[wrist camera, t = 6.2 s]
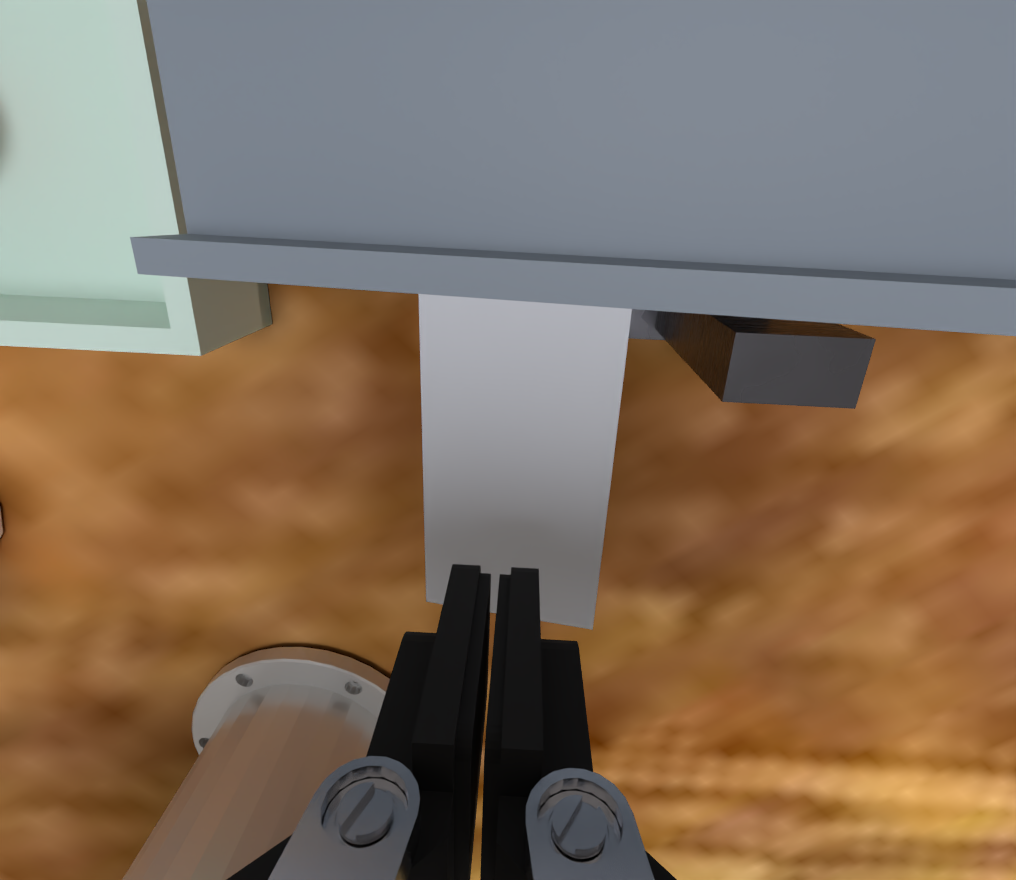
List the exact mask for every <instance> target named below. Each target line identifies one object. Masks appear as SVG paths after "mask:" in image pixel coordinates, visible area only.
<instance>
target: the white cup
mask: <svg viewBox="0 0 1016 880" xmlns="http://www.w3.org/2000/svg"><path fill="white" fill-rule="evenodd" d="M2 534H3V525H2V516H1V508H0V538H1V536H2Z"/></svg>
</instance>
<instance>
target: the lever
mask: <svg viewBox="0 0 1016 880" xmlns="http://www.w3.org/2000/svg"><path fill="white" fill-rule="evenodd" d="M146 1H147V7H148V12H149V18H150V24H151V29H152V35H153V41H154V46H155V52H156V58H157V63H158V69H159V75H160V80H161V86H162V92H163V97H164V103H165V109H166V114H167V120H168V126H169V132H170V137H171V143H172V149H173V154H174V160H175V166H176V171H177V177H178V183H179V188H180V194H181V200H182V205H183V211H184V217H185V222H186V228H187V234H177V235H159V236H142V237H130V240H131V245H132V249H133V254H134V259H135V263H136V268H137V273H138V274H144V275H158V276H172V277H186V278H201V279H215V280H229V281H243V282H257V283H271V284H285V285H300V286H314V287H328V288H342V289H356V290H370V291H385V292H399V293H413V294H419V328H420V368H421V408H422V449H423V489H424V529H425V570H426V602H432V603H438V604H443V603H444V598H445V594H446V590H447V585H448V581H449V576H450V572H451V568H452V565H453V564H463V565H480V566H481V573H489V574H491V594H490V612H491V613H496V611H497V599H498V588H499V577H500V574H507V575H511V567H518V568H537V569H539V593H540V621H545V622H551V623H556V624H562V625H568V626H574V627H580V628H586V629H592V630H593V623H594V614H595V606H596V598H597V590H598V582H599V574H600V566H601V557H602V549H603V541H604V533H605V525H606V517H607V508H608V500H609V492H610V484H611V476H612V468H613V460H614V451H615V443H616V435H617V427H618V419H619V411H620V402H621V394H622V386H623V378H624V370H625V362H626V354H627V345H628V337H629V329H630V321H631V313H632V309H639V310H653V311H668V312H682V313H696V314H710V315H724V316H738V317H753V318H767V319H781V320H795V321H809V322H823V323H837V324H852V325H866V326H880V327H894V328H908V329H922V330H937V331H951V332H965V333H979V334H993V335H1007V336H1016V0H146Z"/></svg>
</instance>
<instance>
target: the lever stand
mask: <svg viewBox="0 0 1016 880" xmlns="http://www.w3.org/2000/svg"><path fill="white" fill-rule="evenodd" d="M628 338H633V339H654V340H666V341H667V342H668V343H669V344H670V345H671V346H672V348H673V349H674V350H675V351H676V352H677V353H678V354H679V355H680V356H681V357H682V358H683V359H684V361H685V362H686V363H687V364H688V365H689V366H690V367H691V368H692V369H693V370H694V371H695V373H696V374H697V375H698V376H699V377H700V378H701V379H702V380H703V381H704V382H705V383H706V384H707V386H708V387H709V388H710V389H711V390H712V391H713V392H714V393H715V394H716V395H717V396H718V397H719V399H720V400H721V401H722V402H740V403H759V404H778V405H797V406H816V407H835V408H854V409H855V407H856V404H857V400H858V397H859V394H860V390H861V387H862V384H863V380H864V377H865V374H866V370H867V367H868V364H869V360H870V357H871V353H872V350H873V347H874V343H875V340H876V339H874V338H872V337H869V336H867V335H864V334H862V333H859V332H857V331H854V330H852V329H849V328H847V327H844V326H842V325H839V324H837V323H823V322H809V321H795V320H781V319H767V318H753V317H738V316H724V315H710V314H696V313H682V312H668V311H653V310H639V309H632V313H631V321H630V329H629V337H628Z"/></svg>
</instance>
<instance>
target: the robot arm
mask: <svg viewBox="0 0 1016 880" xmlns="http://www.w3.org/2000/svg"><path fill="white" fill-rule="evenodd" d="M490 594H491V574H489V573H481V566H480V565H463V564H453V565H452V568H451V572H450V576H449V581H448V585H447V590H446V594H445V598H444V603H443V607H442V611H441V616H440V620H439V624H438V629H437V633H422V632H406V633H405V634H404V636H403V639H402V642H401V645H400V648H399V651H398V655H397V658H396V661H395V664H394V668H393V671H392V674H391V677H390V679H389V678H387V677H386V676H384V675H383V674H381V673H380V672H378V671H377V670H375V669H373V668H372V667H370V666H368V665H366V664H364V663H362V662H359V661H357V660H355V659H353V658H350V657H348V656H344V655H341V654H337V653H334V652H331V651H327V650H321V649H314V648H307V647H277V648H271V649H265V650H259V651H256V652H253V653H250V654H247V655H245V656H242V657H239V658H237V659H236V660H234V661H232V662H231V663H229V664H228V665H226V666H224V667H223V668H222V669H221V670H220V671H219V672H218V673H217V674H216V675H215V676H214V677H213V678H212V679H211V680H210V682H209V684H208V685H207V687H206V688H205V690H204V691H203V693H202V694H201V695H200V697H199V698H198V701H197V703H196V706H195V708H194V711H193V715H192V735H193V741H194V745H195V747H196V749H197V751H198V754H199V757H198V758H197V760H196V761H195V763H194V765H193V766H192V768H191V769H190V771H189V773H188V774H187V776H186V778H185V779H184V781H183V782H182V784H181V786H180V787H179V789H178V790H177V792H176V794H175V795H174V797H173V799H172V800H171V802H170V803H169V805H168V807H167V808H166V810H165V811H164V813H163V815H162V816H161V818H160V819H159V821H158V823H157V824H156V826H155V828H154V829H153V831H152V832H151V834H150V836H149V837H148V839H147V840H146V842H145V844H144V845H143V847H142V849H141V850H140V852H139V853H138V855H137V857H136V858H135V860H134V861H133V863H132V865H131V866H130V868H129V869H128V871H127V873H126V874H125V876H124V878H123V879H122V880H470V874H471V863H472V852H473V841H474V830H475V820H476V809H477V798H478V787H479V776H480V765H481V754H482V743H483V732H484V722H485V711H486V700H487V684H488V655H489V624H490ZM481 880H676V879H675V878H674V877H673V876H672V875H671V874H670V873H669V872H668V871H667V870H666V869H665V868H664V867H662V866H661V865H660V864H659V863H658V862H657V861H656V860H655V859H654V858H653V857H652V856H651V855H650V854H649V853H647V852H646V851H645V849H644V846H643V843H642V840H641V837H640V833H639V830H638V827H637V824H636V821H635V818H634V815H633V812H632V810H631V808H630V806H629V804H628V802H627V800H626V798H625V796H624V795H623V794H622V793H621V792H620V791H619V790H618V788H617V787H616V786H615V785H614V784H613V783H611V782H610V781H608V780H607V779H605V778H604V777H603V776H601V775H600V774H597V773H594V772H593V767H592V758H591V750H590V741H589V732H588V724H587V715H586V706H585V697H584V689H583V680H582V671H581V663H580V654H579V647H578V643H577V641H563V640H546V639H541V633H540V593H539V569H537V568H518V567H511V575H507V574H500V577H499V588H498V599H497V611H496V622H495V634H494V645H493V657H492V668H491V680H490V691H489V703H488V714H487V726H486V739H485V757H484V786H483V818H482V849H481Z"/></svg>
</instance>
